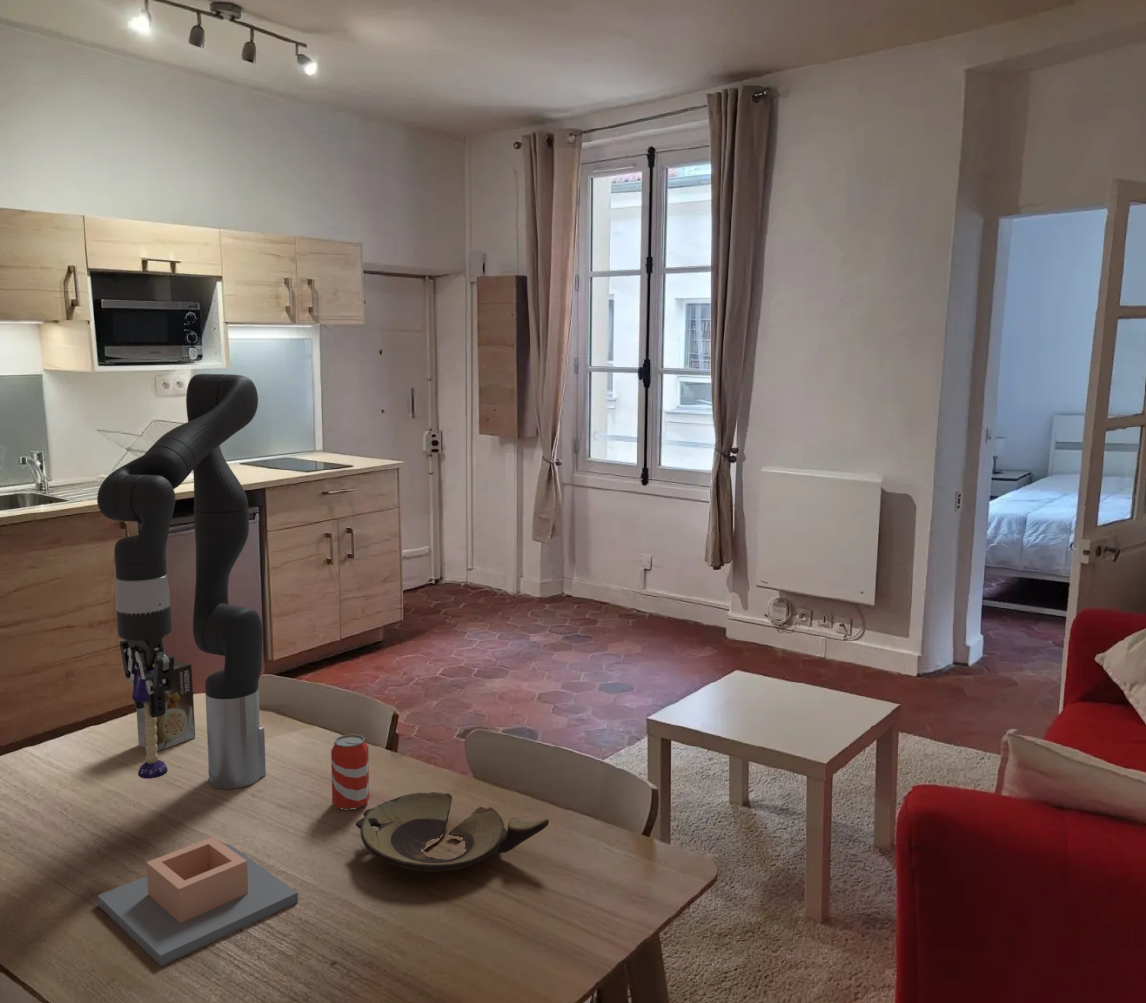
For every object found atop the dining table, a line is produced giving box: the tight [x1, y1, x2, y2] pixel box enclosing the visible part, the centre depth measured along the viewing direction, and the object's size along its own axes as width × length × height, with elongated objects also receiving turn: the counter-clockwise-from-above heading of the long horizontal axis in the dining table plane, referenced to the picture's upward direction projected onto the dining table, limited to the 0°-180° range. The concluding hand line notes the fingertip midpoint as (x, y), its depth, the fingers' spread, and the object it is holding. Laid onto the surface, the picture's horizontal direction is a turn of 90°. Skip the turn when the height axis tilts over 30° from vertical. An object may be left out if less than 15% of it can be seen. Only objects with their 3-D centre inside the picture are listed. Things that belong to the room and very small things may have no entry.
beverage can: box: [330, 733, 370, 810], centre depth 164 cm, size 6×6×12 cm
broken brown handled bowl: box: [355, 791, 550, 872], centre depth 147 cm, size 22×30×8 cm
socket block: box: [97, 836, 299, 967], centre depth 133 cm, size 20×20×6 cm
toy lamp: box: [131, 670, 168, 780], centre depth 144 cm, size 5×5×17 cm
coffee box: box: [135, 659, 196, 753], centre depth 189 cm, size 9×6×16 cm
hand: (149, 710), depth 143 cm, fingers closed on toy lamp, 4 cm apart
